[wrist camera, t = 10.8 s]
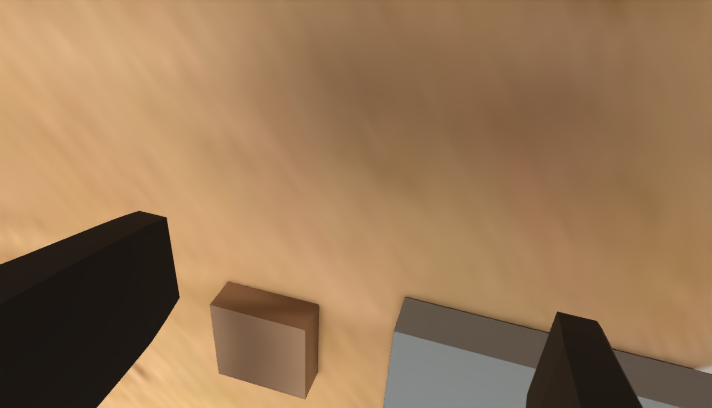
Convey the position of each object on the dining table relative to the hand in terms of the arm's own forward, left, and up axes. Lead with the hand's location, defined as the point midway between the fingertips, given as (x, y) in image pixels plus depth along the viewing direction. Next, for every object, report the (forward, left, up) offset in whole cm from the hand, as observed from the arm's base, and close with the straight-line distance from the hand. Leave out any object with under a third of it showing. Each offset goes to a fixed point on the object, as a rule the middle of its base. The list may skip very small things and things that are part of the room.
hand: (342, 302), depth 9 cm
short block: (+6, +12, -10) cm, 17 cm away
